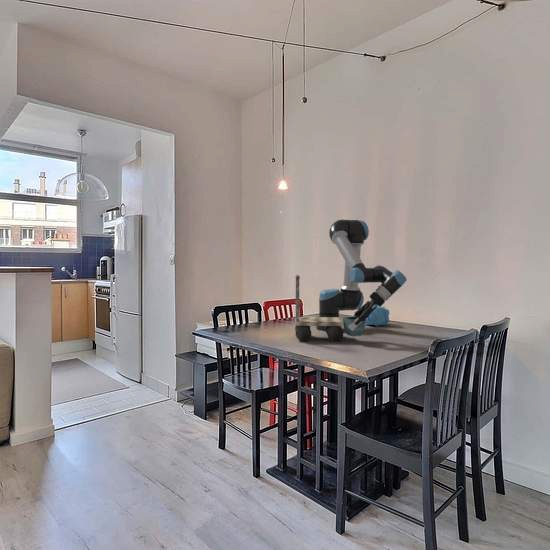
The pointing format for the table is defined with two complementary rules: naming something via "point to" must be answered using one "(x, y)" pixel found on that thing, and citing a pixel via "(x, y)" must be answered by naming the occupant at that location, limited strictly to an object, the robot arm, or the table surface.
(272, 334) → the table surface
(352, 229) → the robot arm
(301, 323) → the trolley
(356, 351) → the table surface
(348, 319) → the flower pot
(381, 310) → the decorative pot
